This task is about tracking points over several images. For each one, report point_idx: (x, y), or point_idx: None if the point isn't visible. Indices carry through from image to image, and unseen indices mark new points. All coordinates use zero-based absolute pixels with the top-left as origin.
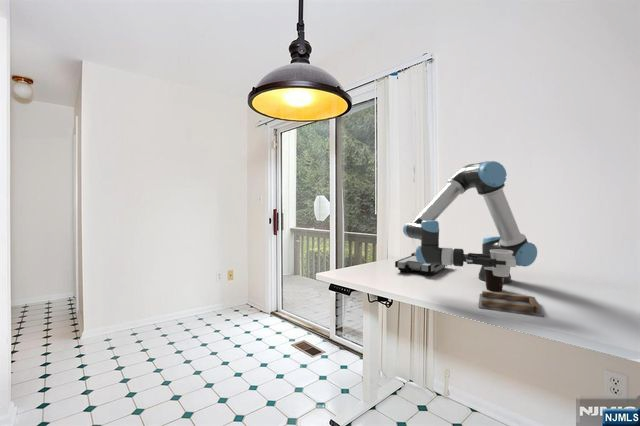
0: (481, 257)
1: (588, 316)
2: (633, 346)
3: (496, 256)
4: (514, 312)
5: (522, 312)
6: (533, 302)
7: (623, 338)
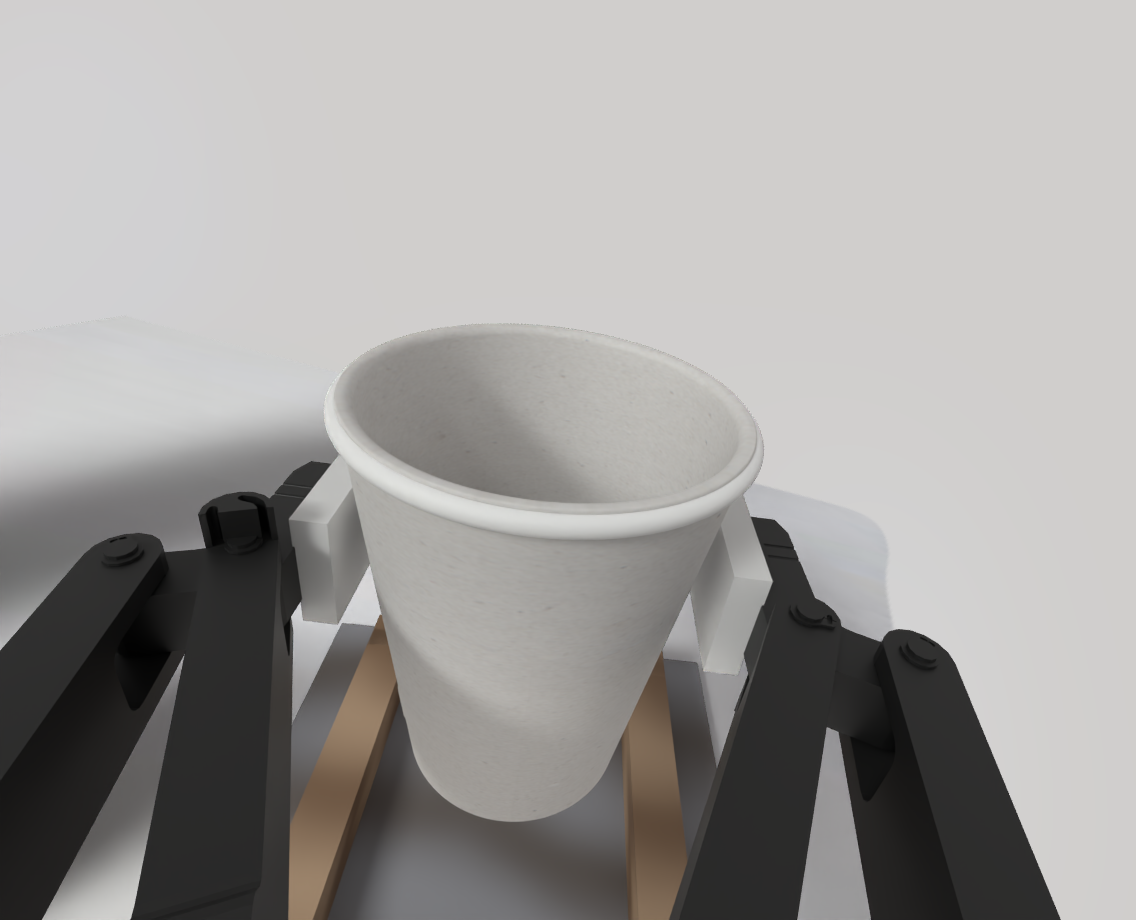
0: (742, 871)
1: None
2: (847, 509)
3: (711, 543)
4: None
5: (703, 769)
6: None
7: (783, 504)
